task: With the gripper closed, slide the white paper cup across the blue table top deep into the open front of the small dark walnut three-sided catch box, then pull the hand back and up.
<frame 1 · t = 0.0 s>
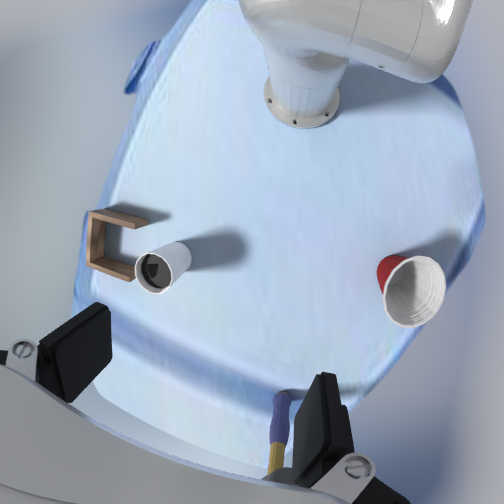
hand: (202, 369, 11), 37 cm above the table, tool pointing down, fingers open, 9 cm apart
rubber mallet: (282, 394, 54), on the table
plastic cup: (390, 269, 45), on the table
white paper cup: (177, 256, 50), on the table
catch box: (122, 240, 50), on the table
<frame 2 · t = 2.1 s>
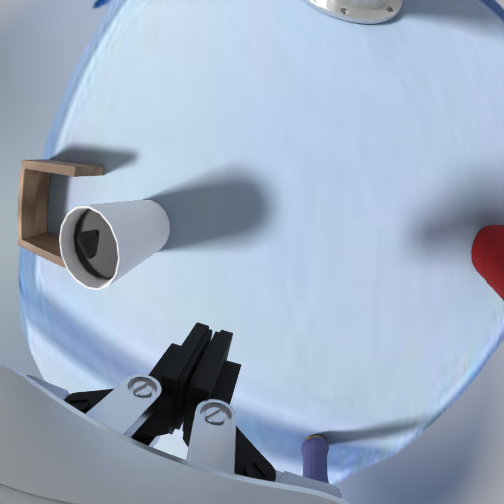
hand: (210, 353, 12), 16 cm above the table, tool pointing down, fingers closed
rubber mallet: (314, 438, 33), on the table
plastic cup: (486, 247, 23), on the table
white paper cup: (147, 226, 28), on the table
catch box: (68, 205, 29), on the table
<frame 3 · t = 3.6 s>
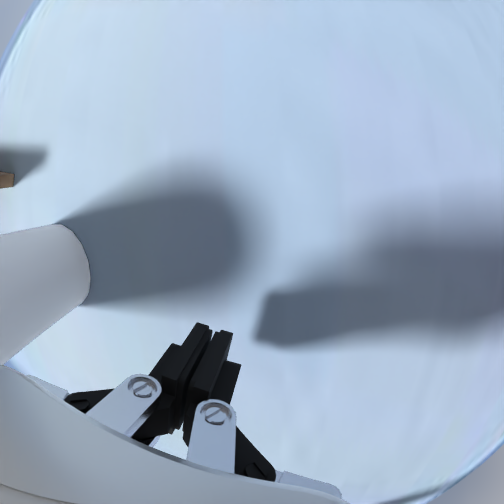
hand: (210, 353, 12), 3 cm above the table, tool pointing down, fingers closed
white paper cup: (63, 265, 15), on the table
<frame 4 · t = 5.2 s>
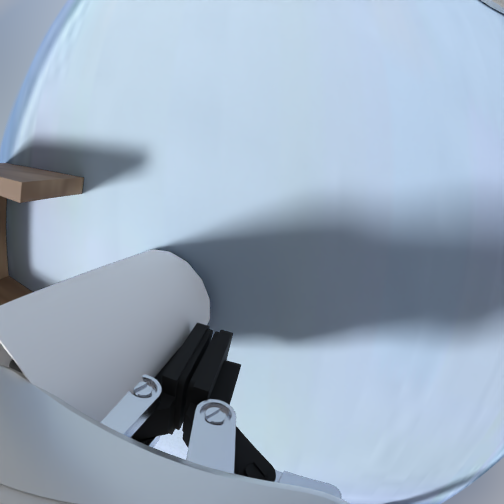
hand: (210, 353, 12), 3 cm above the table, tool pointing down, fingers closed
white paper cup: (164, 298, 15), on the table, touching gripper
catch box: (31, 241, 16), on the table
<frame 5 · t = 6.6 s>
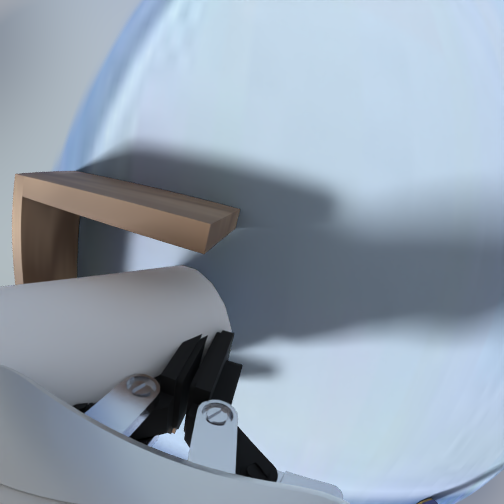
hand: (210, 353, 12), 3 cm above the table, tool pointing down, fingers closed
rubber mallet: (423, 500, 19), on the table
white paper cup: (192, 319, 14), point 1 cm above the table, touching gripper
catch box: (130, 277, 15), on the table
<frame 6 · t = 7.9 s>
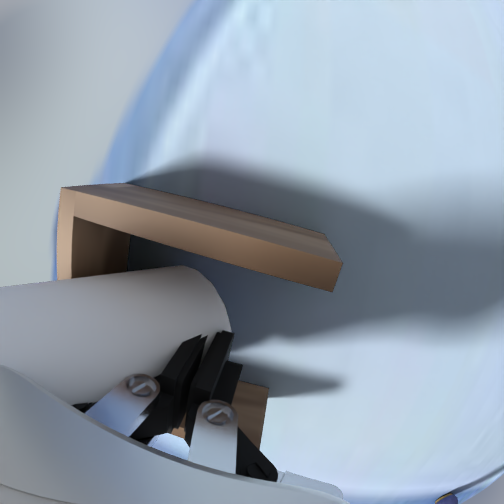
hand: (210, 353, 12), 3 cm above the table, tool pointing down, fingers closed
rubber mallet: (443, 496, 19), on the table
white paper cup: (192, 319, 14), point 1 cm above the table, touching gripper
catch box: (194, 302, 15), on the table
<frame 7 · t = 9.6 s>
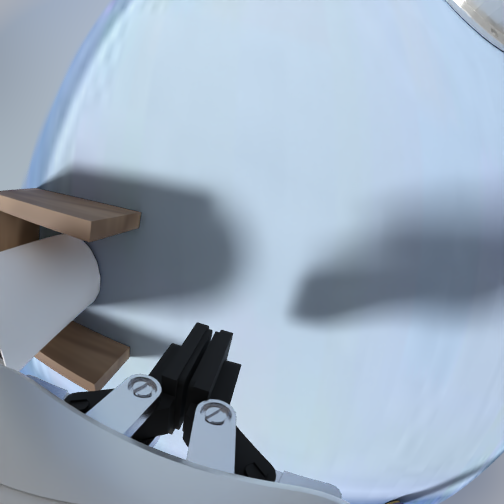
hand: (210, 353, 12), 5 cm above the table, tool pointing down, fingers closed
rubber mallet: (389, 502, 21), on the table
white paper cup: (73, 269, 17), on the table
catch box: (73, 270, 17), on the table
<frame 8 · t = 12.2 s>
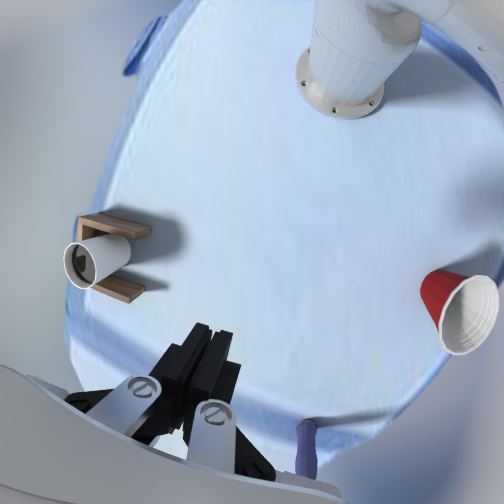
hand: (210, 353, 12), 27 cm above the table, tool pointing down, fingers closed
rubber mallet: (306, 422, 45), on the table
plastic cup: (434, 285, 36), on the table
white paper cup: (117, 249, 42), on the table
catch box: (119, 252, 42), on the table
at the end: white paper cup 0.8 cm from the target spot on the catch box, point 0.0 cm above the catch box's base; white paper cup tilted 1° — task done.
